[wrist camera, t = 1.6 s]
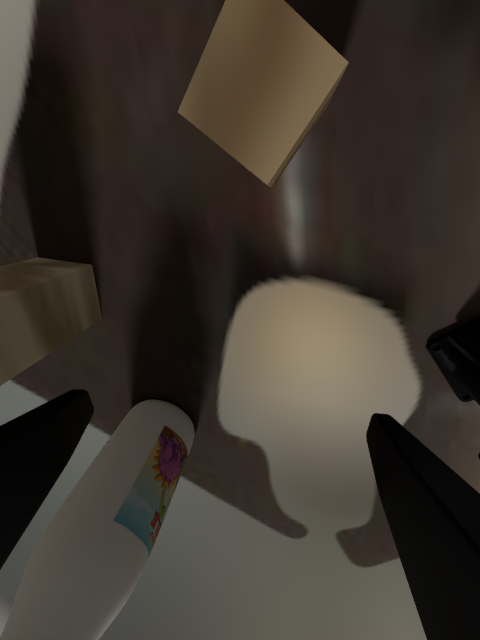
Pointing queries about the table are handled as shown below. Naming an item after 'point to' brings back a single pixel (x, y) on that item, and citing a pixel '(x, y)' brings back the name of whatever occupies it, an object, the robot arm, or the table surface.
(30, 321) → the maple block
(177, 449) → the milk bottle
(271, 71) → the oak cube
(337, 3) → the table surface
